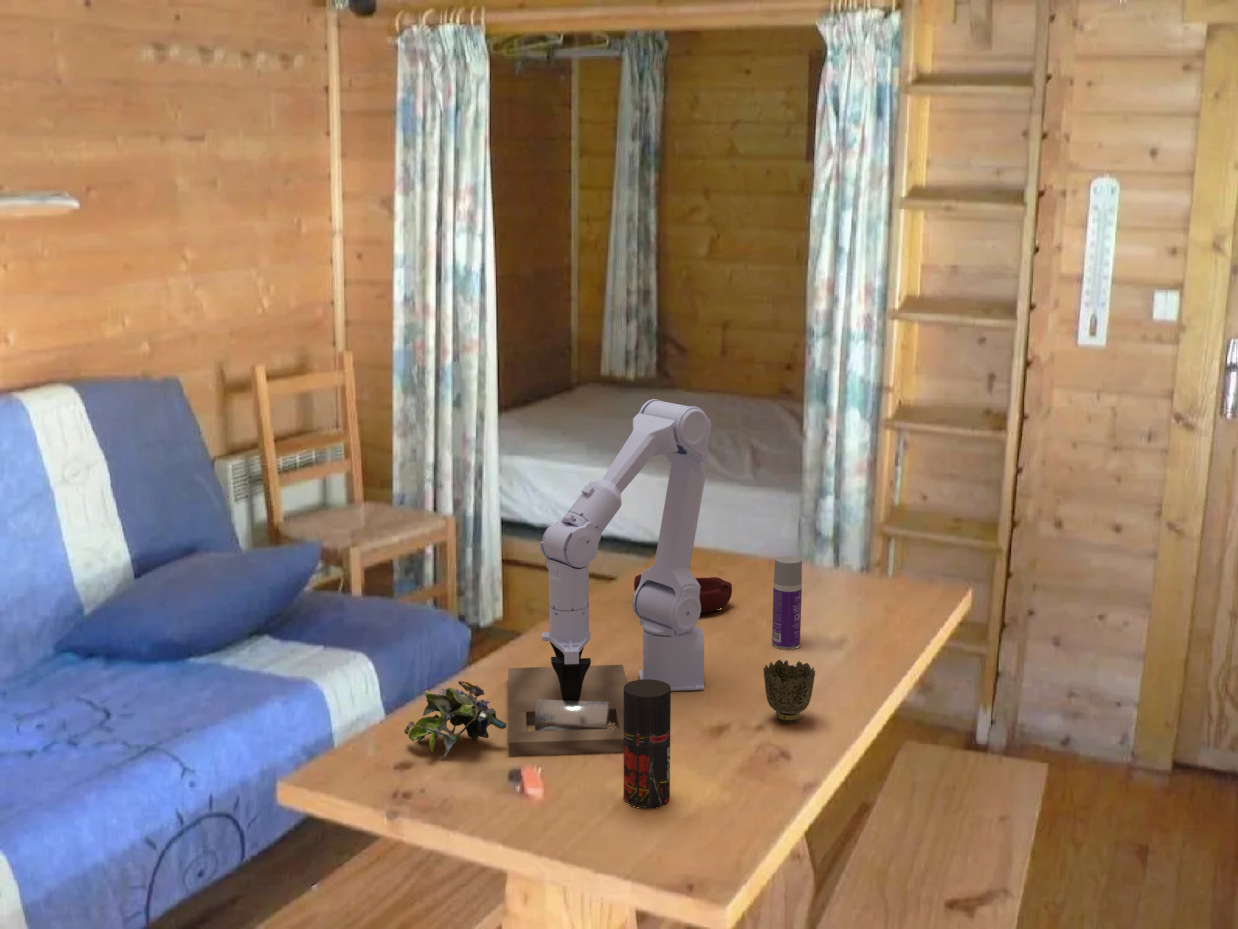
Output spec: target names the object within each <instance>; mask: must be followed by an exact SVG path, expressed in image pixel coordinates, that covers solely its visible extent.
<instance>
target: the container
mask: <svg viewBox="0 0 1238 929" xmlns="http://www.w3.org/2000/svg"><path fill="white" fill-rule="evenodd" d="M802 559H803V558H801V557H799V556H795V555H778V556H776V557H775V558H774V569H773V570H774V571H773V572H774V573H773V587H772V588H773V590H772V627H771V628H772V633H771V645H772V644H773V645H774V646H775V647H777V648H776V649H778V648H782V649H792V650H794V649H793V648H796V647H798V646H799V645H800V646H801V628H802V627H801V626H802V624H801V622H802V621H801V620H802V593H803V592H802V590H803V589H802V586H803V585H802V584H803V582H802V580H803V577H802V576H803V575H802V574H803V570H802V569H803V568H802V567H803V563H802V562H803V560H802ZM773 645H772V646H773ZM775 647H774V648H775ZM782 649H781V650H782Z"/></svg>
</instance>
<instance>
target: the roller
mask: <svg viewBox="0 0 1238 929" xmlns="http://www.w3.org/2000/svg"><path fill="white" fill-rule="evenodd" d="M609 723H610V722H609V703H608V702H598V701H569V700H541V699H538V700H537V703H536V710H535V724H534V731H559V730H588V729H610V728H609V725H610V724H609Z"/></svg>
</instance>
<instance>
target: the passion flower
mask: <svg viewBox="0 0 1238 929" xmlns="http://www.w3.org/2000/svg"><path fill="white" fill-rule="evenodd" d="M458 685H459V686H460V687H462V688H463V689H464V690H465V691H466V692H468V693H469V694H468V693H465V692H464V691H463V690H459V689H457V688H454V687H451V686H449V687H447V688H446V689H445V688H443V687H442V688H440V689H439V690H438V691H437V692H438V693H437V694H435V693H431V692H429V691H428V690H425V691H424V696H425V697H426V699H425V700H426V702H427V705H426V706H425V707H424V710H423V714H422V716H423V717H421V718H419V720H417V721H416V723H415V722H414V721H409V722H408V725H407V726H406V727H405V729H404V731H403V732H404V734H405V735H408V739H409V740H411V742H414V741H415V742H416V741H417V742H418V743H420V742H422V740H424V739H425V738H426V736H428V735H429V736H430V738H429V742H428V743H429V744H428V745H429V749H430V751H431V752H432V753H434V750H435V746H436V744H435V743H436V740H437V739H438V738H439V737H440V736H442V737H443V745H444V748H445V751H444V755H443V757H441V758H442V759H441V761H444V760H445V758H446V757H447V755H448V754H449V752H450V750H451V749H452V747H453V745H454V744H455V743H457V742H459V738H460V736H461V735H462V734H463V732H465V731H466V733H467V736H468V737H469V738H470V739H471V740H472V739H473V740H477V739H478V738H484V739H488V738H489V736H490V735H489V732H488V730H487V729H488V727H489V726H490V725H492V726H494V727H496V729H497V728H498V729H500V730H502V729H503V730H505V729H506V728H507V722H505V721H502V720H501V719H498V717H497V714H496V713H497V712H496V710H495V708H490V707H488V704H490V701H488V700H484V699H480V700H477V698H478V697H480V696H483V695H486V693H485V691H484V689H482V688H481V687H480V686H479V685H477V684H476V685H475V684H473V683H472V682H470V681H467V680H466V681H462V680H458ZM441 690H442V691H441ZM439 693H440V694H439ZM473 695H474V696H473ZM434 712H439V713H440V716H439V715H438V714H436V713H435V715H434V716H433V715H432V716H430V714H431V713H434ZM427 715H429V716H427ZM448 721H449V723H450V724H451V725H452V726H453V729H452V730H450V729H449V728H448V726H447V724H448ZM462 725H463V726H464V727H463V729H461V730H460V731H459V732H458V733H457V734H455V731H456V727H457V726H462ZM441 731H444V732H446V733H443V732H441ZM447 733H448V734H447Z"/></svg>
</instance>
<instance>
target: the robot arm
mask: <svg viewBox="0 0 1238 929" xmlns="http://www.w3.org/2000/svg"><path fill="white" fill-rule="evenodd" d="M711 429H712V422H711V420H710V418H709V416H707V414H706V412H705V411H704V410H703V409H702V408H700V407H698V406H694V405H693V406H692V405H691V406H689V405H684V404H679V403H675V402H673V403H672V402H667V401H663V400H661V399H657V398H653V399H649V400H647V401H646V402H644V403H643V405H641V408H640V409H639V412H638V413H637V414H636V415H635V416H634V417H633V418H632V432H631V434H630V435H629V436H628V438H627V440H625V443H624V444H623V446H622V447H621V449H620V451H619V452H618V454H617V455H616V457H615V458H614V460H613V462H612V463H611V465H610V466H609V468H608V469H607V471H606V473H605V474H604V476H603V478H602V479H600V480H595V481H591V482H589V483H588V485H587V484H586V485H584V487H583V488H582V490H581V494H580V495H579V496H578V497H577V499H576V500H575V502H574V503H573V504H572V506H571V507H570V508H569V509H568V511H567V512H565V514H564V516H563V518H561V519H560V520H561V521H557V522H555V523H552V524H551V525H549V526H548V527H547V528H546V530H545V531H544V533H543V536H542V539H541V540H542V541H540V542H539V550H540V552H541V554H542V556H543V557H544V558H545V561H546V569H547V570H548V592H549V593H548V595H549V596H548V604H549V616H548V617H549V631H545V632H542V633H541V641H543V642H549V644H550V646H551V647H552V650H553V653H554V655H555V656H550V662H551V665H552V666H551V667H553V668H554V670H555V672H556V674H557V676H558V679H559V683H560V688H561V694H562V699H563V700H569V701H579V700H580V695H581V690H582V684H583V680H584V677H585V674H586V672H587V670H588V668H589V667H590V666H591V663H592V659H591V657H584V658H583V657H582V655H583V651H584V648H585V647H586V645H587V644H588V643H589V642H590V640H591V631H590V595H589V594H590V591H589V590H590V588H589V587H590V580H589V579H590V576H589V575H590V574H589V572H590V568H589V567H590V566H589V565H590V563H591V562H592V561H593V560H595V558H596V555H597V553H598V550H599V542H600V541H601V537H602V533H603V532H604V531H605V529H606V528H607V526H608V525H609V524H610V522H611V521H612V520H613V518H614V517H615V515H616V514H617V513H618V511H619V510H620V508H621V507H622V504H623V502H622V493H623V492H624V491H625V489H626V488H627V487H628V486H629V485H630V483H632V481H633V480H634V479H635V478H636V477H637V475H638V474H639V473H640V472H641V471H642V469H643V468H644V467H645V466H646V465H647V464H648V462H649V461H650V460H651V459H652V458H653V457H654V456H659V455H664V457H666V459H667V461H669V462H668V463H670V470H669V475H668V481H667V482H668V483H667V486H666V492H665V493H666V494H665V498H664V506H663V512H662V517H661V522H660V523H661V524H660V529H659V536H658V541H657V548H656V552H655V558H654V563H653V564H652V565H651V566H650V567H648V568H647V569H645V570H643V572H642V573H641V580H640V584H639V586H638V588H637V590H636V591H635V590H634V594H633V598H632V610H633V612H634V614H635V615H636V616H637V617H638V618H639V625H640V626H642V629H643V631H642V670H641V669H640V670H638V673H637V674H638V677H639V680H642V679H652V680H659V681H663V682H665V683H667V684H669V685H670V687H671V692H675V691H678V692H679V691H680V692H681V691H703V690H705V683H704V682H705V679H704V678H705V676H704V675H705V642H704V640H705V639H704V632H703V629H702V627H701V626H696V625H697V623H698V622H699V619H700V617H701V614H702V613H701V604H700V598H699V595H700V588H701V587H700V584H699V583H698V581H697V580H696V579H695V578H696V577H695V576H694V574H693V573H692V570H691V564H692V557H693V551H694V544H695V539H696V534H697V528H698V523H699V522H698V521H699V516H700V510H701V504H702V498H703V492H704V486H705V479H706V475H707V470H708V463H709V456H710V455H709V443H710V442H709V441H710V436H711V432H712V431H711Z"/></svg>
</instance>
